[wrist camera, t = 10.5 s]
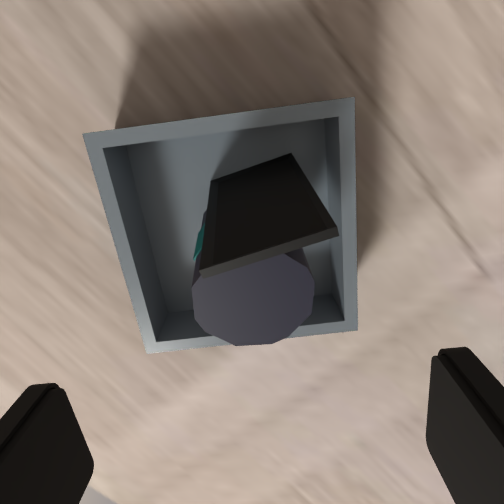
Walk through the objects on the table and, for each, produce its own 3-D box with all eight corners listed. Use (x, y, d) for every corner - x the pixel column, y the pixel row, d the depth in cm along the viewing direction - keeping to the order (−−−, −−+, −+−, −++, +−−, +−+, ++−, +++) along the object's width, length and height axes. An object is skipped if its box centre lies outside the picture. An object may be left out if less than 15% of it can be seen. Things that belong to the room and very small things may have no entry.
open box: (333, 99, 21) (354, 96, 17) (340, 295, 26) (357, 330, 22) (114, 129, 22) (82, 133, 17) (162, 315, 27) (146, 353, 22)
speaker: (198, 150, 21) (175, 214, 12) (293, 152, 21) (343, 215, 12) (202, 260, 24) (187, 375, 15) (284, 260, 25) (316, 372, 16)
